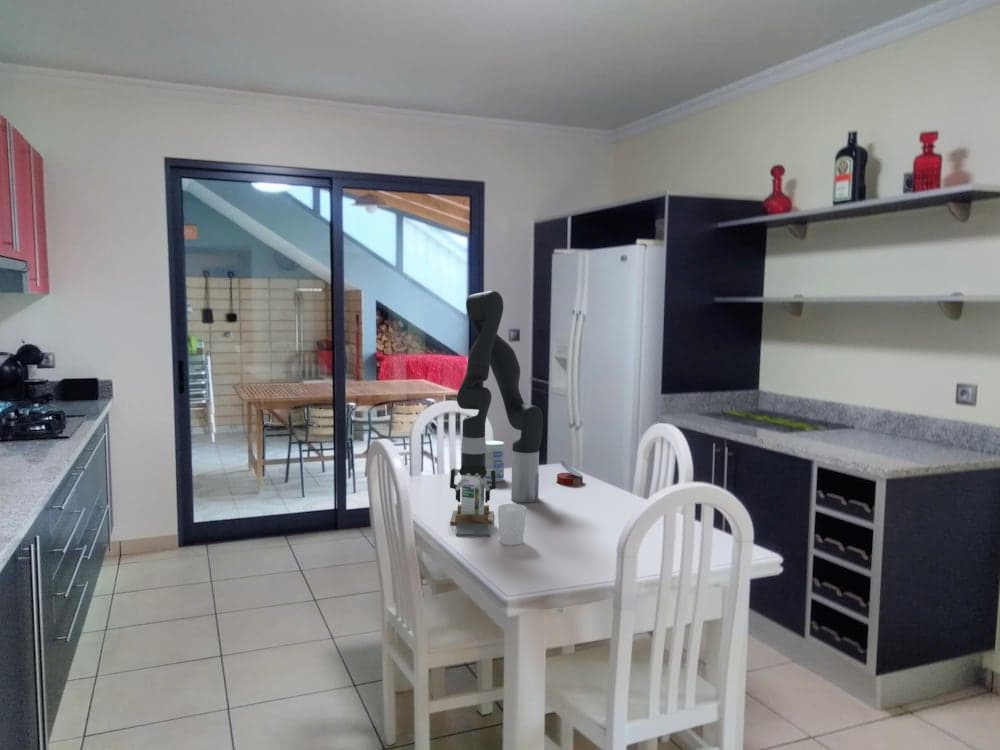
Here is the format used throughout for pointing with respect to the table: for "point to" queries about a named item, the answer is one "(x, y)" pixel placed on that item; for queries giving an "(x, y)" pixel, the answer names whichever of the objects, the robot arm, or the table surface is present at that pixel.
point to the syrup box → (472, 495)
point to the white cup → (511, 523)
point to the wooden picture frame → (472, 517)
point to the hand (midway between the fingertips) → (472, 501)
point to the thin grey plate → (474, 530)
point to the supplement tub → (494, 459)
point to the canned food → (569, 477)
